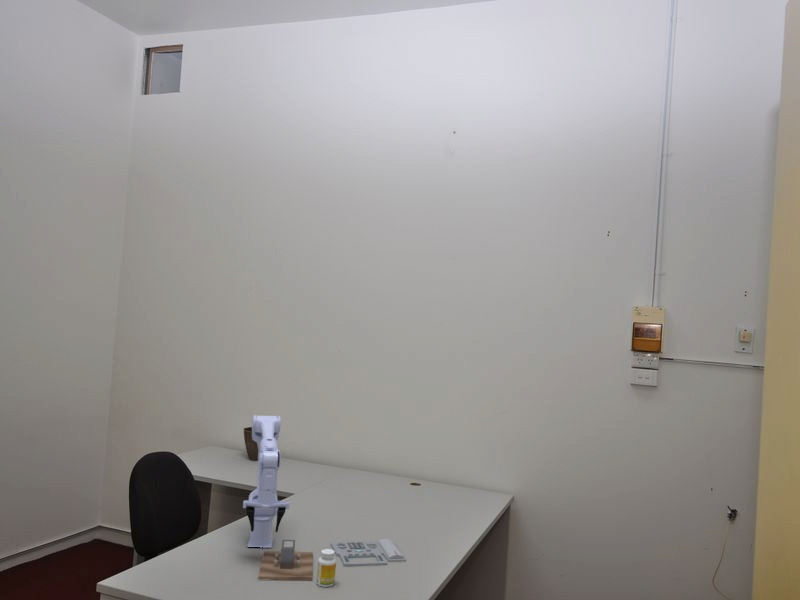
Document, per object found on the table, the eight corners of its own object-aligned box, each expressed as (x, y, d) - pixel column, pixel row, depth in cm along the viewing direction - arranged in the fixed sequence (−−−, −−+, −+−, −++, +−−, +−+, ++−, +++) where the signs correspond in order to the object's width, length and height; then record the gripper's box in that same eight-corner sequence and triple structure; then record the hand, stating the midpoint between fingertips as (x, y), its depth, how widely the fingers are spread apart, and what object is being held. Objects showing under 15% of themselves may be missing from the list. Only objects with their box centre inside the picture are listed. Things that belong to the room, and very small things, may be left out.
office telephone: (394, 536, 227) (410, 558, 208) (394, 544, 227) (410, 566, 207) (330, 537, 221) (341, 560, 201) (330, 545, 220) (340, 568, 201)
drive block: (281, 558, 202) (282, 539, 202) (293, 558, 203) (295, 539, 203) (280, 568, 194) (281, 548, 194) (293, 568, 195) (294, 549, 195)
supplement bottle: (312, 582, 188) (315, 550, 188) (326, 578, 192) (328, 546, 192) (324, 589, 184) (326, 556, 185) (338, 584, 188) (340, 552, 189)
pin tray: (263, 554, 208) (264, 545, 208) (312, 554, 210) (313, 545, 210) (258, 579, 188) (258, 569, 188) (312, 580, 190) (312, 570, 190)
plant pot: (235, 460, 331) (238, 429, 331) (251, 454, 345) (253, 425, 345) (260, 464, 326) (263, 433, 326) (275, 458, 340) (277, 428, 341)
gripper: (243, 491, 198) (240, 534, 198) (289, 492, 200) (286, 535, 200) (245, 484, 205) (242, 526, 205) (290, 486, 207) (287, 527, 207)
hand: (264, 530), depth 203 cm, fingers open, 7 cm apart
